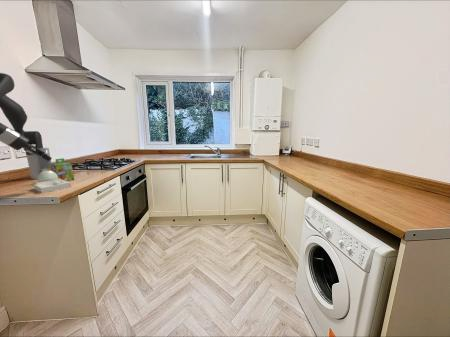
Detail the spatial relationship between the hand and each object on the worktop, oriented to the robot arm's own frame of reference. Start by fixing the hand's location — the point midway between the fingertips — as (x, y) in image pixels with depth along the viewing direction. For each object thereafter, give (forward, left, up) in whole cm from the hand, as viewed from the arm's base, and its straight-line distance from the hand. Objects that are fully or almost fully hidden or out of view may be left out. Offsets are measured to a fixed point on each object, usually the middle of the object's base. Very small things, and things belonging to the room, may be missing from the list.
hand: (48, 159), depth 109 cm
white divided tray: (-2, 0, -17) cm, 17 cm away
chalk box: (-19, +10, -17) cm, 28 cm away
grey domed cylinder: (0, -2, -5) cm, 5 cm away
